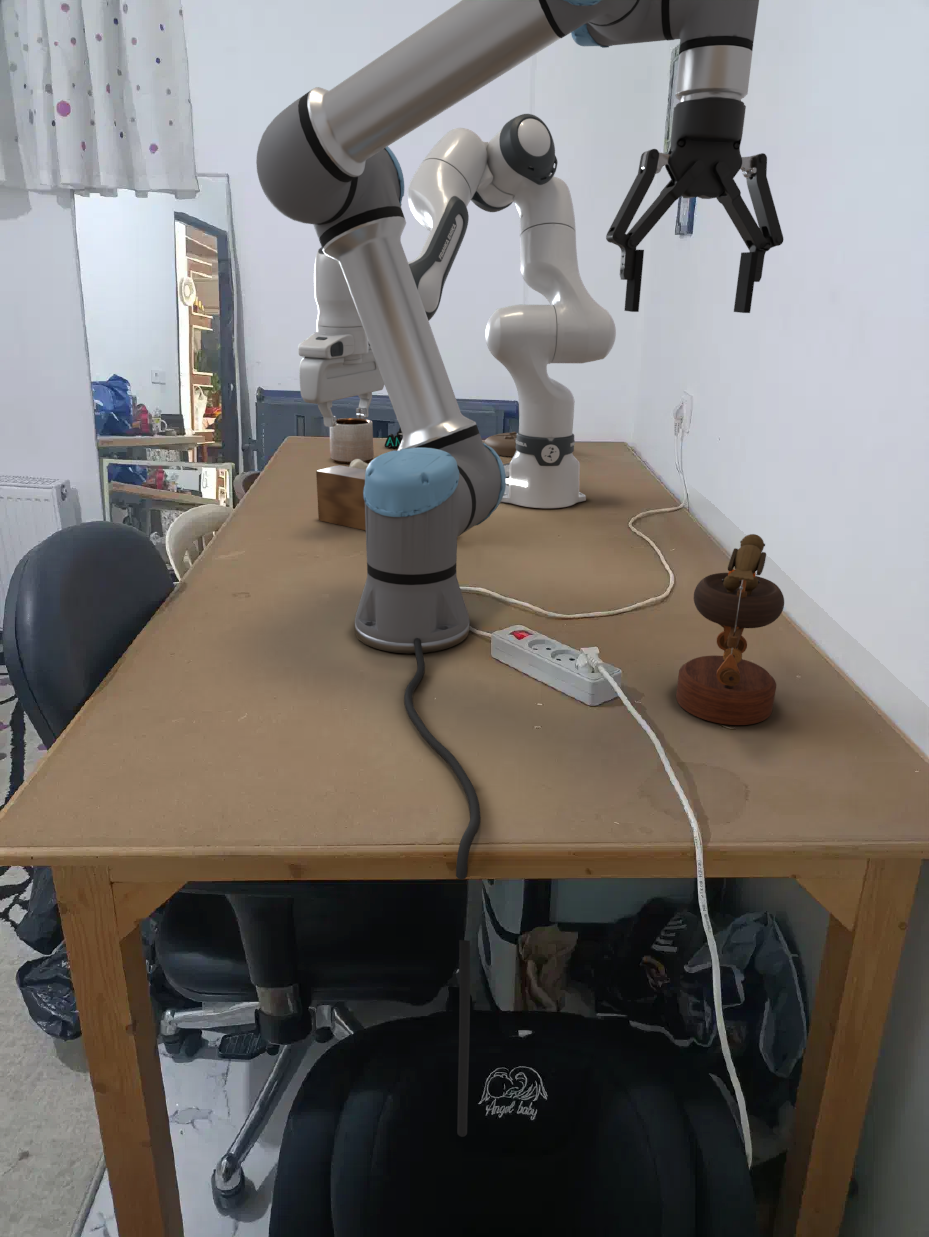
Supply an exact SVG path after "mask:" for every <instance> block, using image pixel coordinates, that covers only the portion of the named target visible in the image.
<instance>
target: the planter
mask: <svg viewBox="0 0 929 1237" xmlns="http://www.w3.org/2000/svg"><path fill="white" fill-rule="evenodd" d="M336 422H337V424H336V426H333V427H329V453H330V454H329V455H330V456H329V457H330V459H331V460H332V461H333V462H335V463H341V464H351V462H352V461H353V460H355V459H360V460H362V461H363V462H365V463H367V462H371V461H372V460H373V459H374V456H375V455H374V452H375V451H374V450H375V449H374V430H373V429H374V428H373V420H371V419H369V418H364V419H361V418H357V417H342V418H341V417H340V418H336Z"/></svg>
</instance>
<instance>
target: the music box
mask: <svg viewBox="0 0 929 1237" xmlns="http://www.w3.org/2000/svg"><path fill="white" fill-rule="evenodd" d="M741 539H742V540H740V541H739V543H740V544H739V545H740V547H739V548H737V547H735V548H733V550H732V552H731V556H730V559H729V562H728V565H727V571H728V572H717V573H716V572H715V573H712V574H708V575H707V576H705V577H703V578H702V579H701V580H700V581H699V582H698V583H697V584H696V586H695V588H694V592H693V603H694V606H695V608H696V610H697V611H698V613H699V614H700V615H701V616H702V617H703V618H705V619H706V620H708V621H710V622H712V623H715V624H717V625H719V626H720V627H722V628H723V630H722V631H721V632H719V633H718V635H717V637H716V645H717V647H718V649H720V650H722V651H723V653H722V655H702V656H698V657H694V658H693V659H690V660H689V661H687V662H685V663H684V664H682V666H680V668H679V670H678V678H677V685H676V694H675V699H676V702H677V703H678V705H679V706H680V707H681V708H682V709H683V710H684V711H686V712H687V713H689V714H691V715H692V716H694V717H696V718H699V719H701V720H705V721H707V722H712V723H716V724H721V725H729V726H746V725H748V726H749V725H753V724H758V723H760V722H763V721H765V720H767V719H769V717H770V716H771V715H772V713H773V708H774V702H775V697H776V692H777V681H776V680H775V678H774V677H773V676H772V674H770V672H768V670H766V668H764V667H763V666H760V665H759V664H757V663H755V662H752V661H750V660H746V659H743V653H745V652H746V651H747V648H748V641H747V639H746V638H745V637H744V636H743V633H744V630H745V629H758V628H759V629H760V628H763V627H766V626H769V625H771V624H772V623H775V621H777V620H778V618H779V617H780V616H781V615H782V613H783V610H784V608H785V607H784V606H785V597H784V594H783V591H782V590H781V588H780V587H779V586H778V585H777V584H776V583H775V582H773V581H771V580H770V579H767V578H764V577H761V575H762V573H763V571H764V568H765V564H766V560H767V552H766V551H764V549H765V547H766V543H765V542H764V539H763V538H762V537H761V536H760V535H758V534H755V533H750V534H747V535H745V536H744V537H742V538H741Z"/></svg>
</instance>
